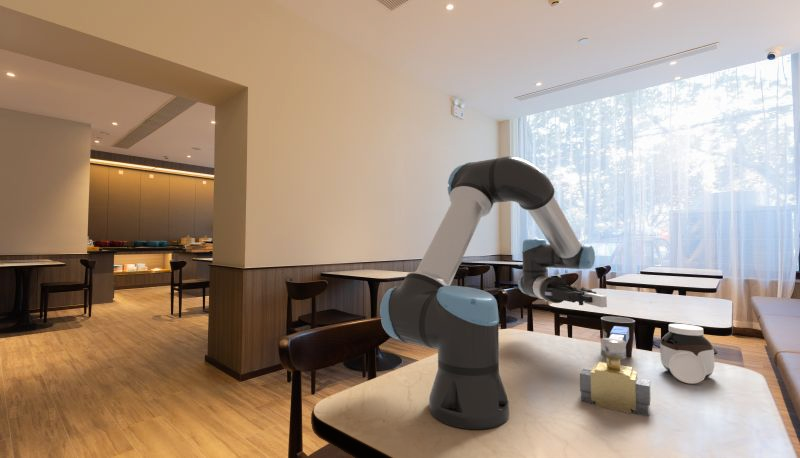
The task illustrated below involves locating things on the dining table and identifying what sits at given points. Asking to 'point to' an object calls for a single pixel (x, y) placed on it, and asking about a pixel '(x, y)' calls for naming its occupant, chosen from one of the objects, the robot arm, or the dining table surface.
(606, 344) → the lever
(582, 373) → the valve body
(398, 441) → the dining table surface
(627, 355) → the coffee mug
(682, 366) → the spread jar
